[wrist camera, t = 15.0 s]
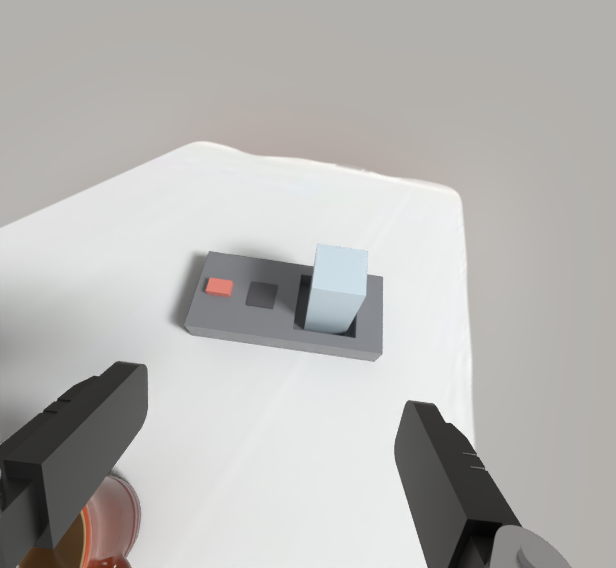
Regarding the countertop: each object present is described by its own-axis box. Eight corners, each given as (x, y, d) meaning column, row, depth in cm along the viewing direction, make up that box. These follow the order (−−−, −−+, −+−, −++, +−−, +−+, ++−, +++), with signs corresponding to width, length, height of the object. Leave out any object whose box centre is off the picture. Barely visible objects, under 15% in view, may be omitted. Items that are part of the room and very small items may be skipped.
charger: (303, 329, 34) (311, 288, 25) (309, 292, 36) (317, 242, 27) (344, 335, 34) (366, 295, 25) (346, 298, 36) (367, 249, 27)
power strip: (191, 335, 33) (181, 322, 30) (213, 265, 38) (207, 247, 34) (374, 361, 33) (384, 351, 30) (375, 288, 38) (385, 273, 34)
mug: (12, 550, 24) (-148, 610, 15) (103, 443, 28) (19, 439, 19) (125, 661, 22) (16, 810, 13) (207, 528, 26) (168, 570, 17)
